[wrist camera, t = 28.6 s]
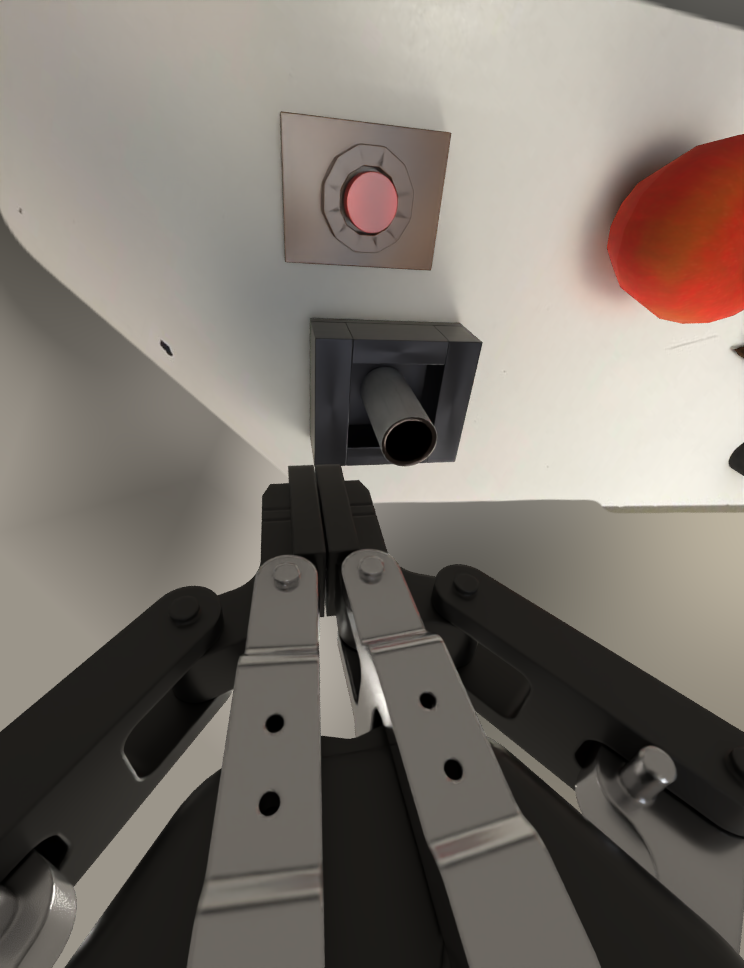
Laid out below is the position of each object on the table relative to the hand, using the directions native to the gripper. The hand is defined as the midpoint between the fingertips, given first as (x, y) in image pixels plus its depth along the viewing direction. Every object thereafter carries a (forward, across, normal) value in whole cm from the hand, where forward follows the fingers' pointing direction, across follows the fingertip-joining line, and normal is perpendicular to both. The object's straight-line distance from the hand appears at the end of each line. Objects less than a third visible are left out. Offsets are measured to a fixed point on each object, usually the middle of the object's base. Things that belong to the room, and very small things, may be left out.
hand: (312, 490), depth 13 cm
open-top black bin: (+29, -9, +9) cm, 32 cm away
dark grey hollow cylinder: (+28, -9, +9) cm, 31 cm away
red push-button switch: (+29, -6, -6) cm, 30 cm away
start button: (+26, -6, -6) cm, 28 cm away
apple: (+29, -31, -6) cm, 43 cm away
